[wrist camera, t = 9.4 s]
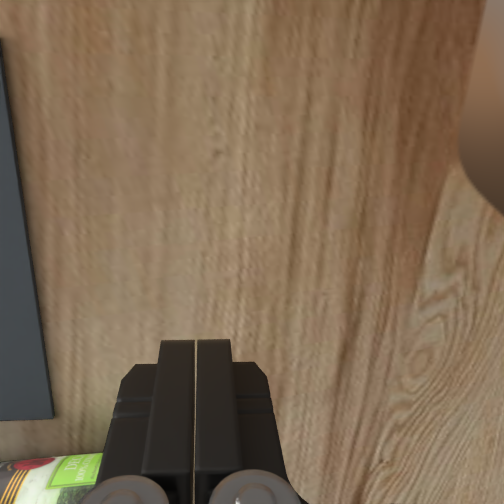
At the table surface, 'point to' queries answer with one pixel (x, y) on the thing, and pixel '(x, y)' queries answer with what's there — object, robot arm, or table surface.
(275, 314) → the table surface
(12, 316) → the mat
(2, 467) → the coffee can
